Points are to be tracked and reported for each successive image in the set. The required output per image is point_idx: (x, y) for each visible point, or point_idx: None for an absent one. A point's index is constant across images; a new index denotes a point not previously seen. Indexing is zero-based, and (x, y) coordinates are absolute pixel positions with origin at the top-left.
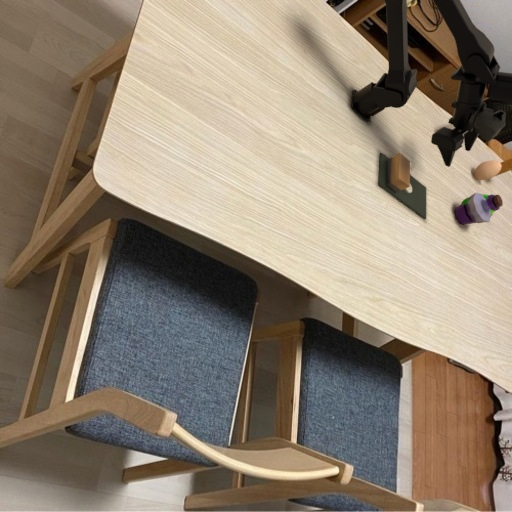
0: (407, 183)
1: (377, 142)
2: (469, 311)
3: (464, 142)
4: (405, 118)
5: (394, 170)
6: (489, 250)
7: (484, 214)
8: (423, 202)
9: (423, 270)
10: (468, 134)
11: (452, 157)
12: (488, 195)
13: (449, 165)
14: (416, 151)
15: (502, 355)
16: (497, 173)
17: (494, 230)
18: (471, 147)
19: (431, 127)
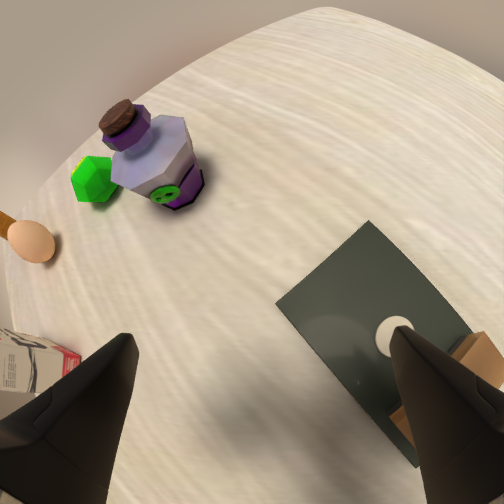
0: (487, 344)
1: (389, 495)
2: (342, 53)
3: (128, 403)
4: (169, 491)
5: None
6: None
7: (167, 125)
8: (339, 266)
9: (455, 136)
10: (96, 450)
11: (459, 373)
12: (77, 188)
13: (413, 330)
14: (202, 413)
15: (302, 17)
16: (25, 220)
17: None
18: (110, 346)
19: None
